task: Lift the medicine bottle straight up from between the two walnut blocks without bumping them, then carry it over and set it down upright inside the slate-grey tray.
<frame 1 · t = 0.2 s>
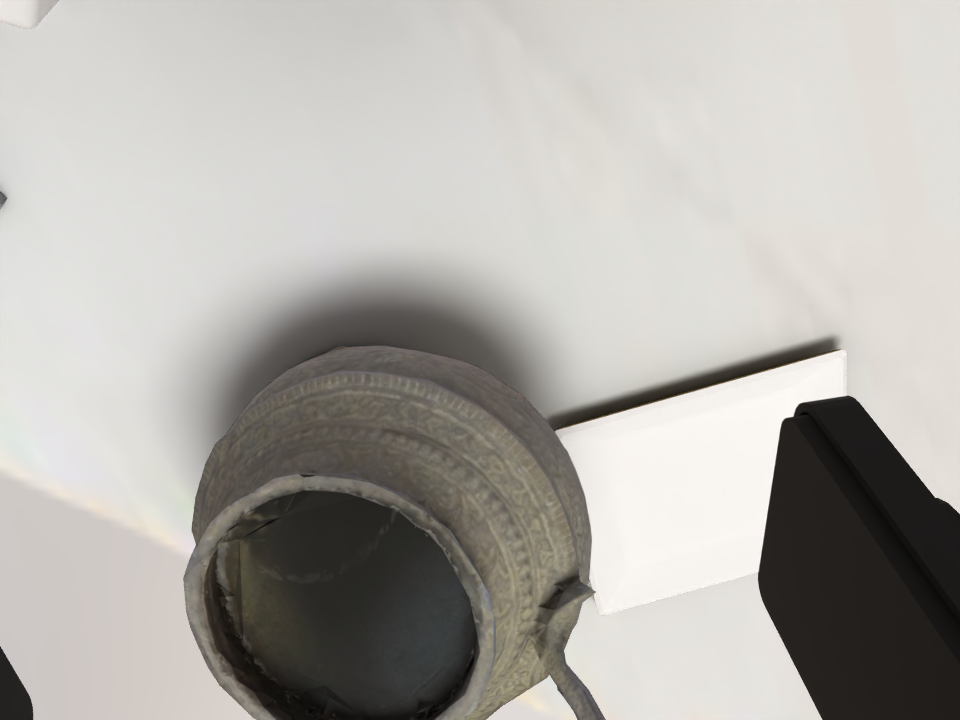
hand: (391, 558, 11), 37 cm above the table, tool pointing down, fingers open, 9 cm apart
pot: (381, 422, 56), on the table
plate: (701, 474, 63), on the table
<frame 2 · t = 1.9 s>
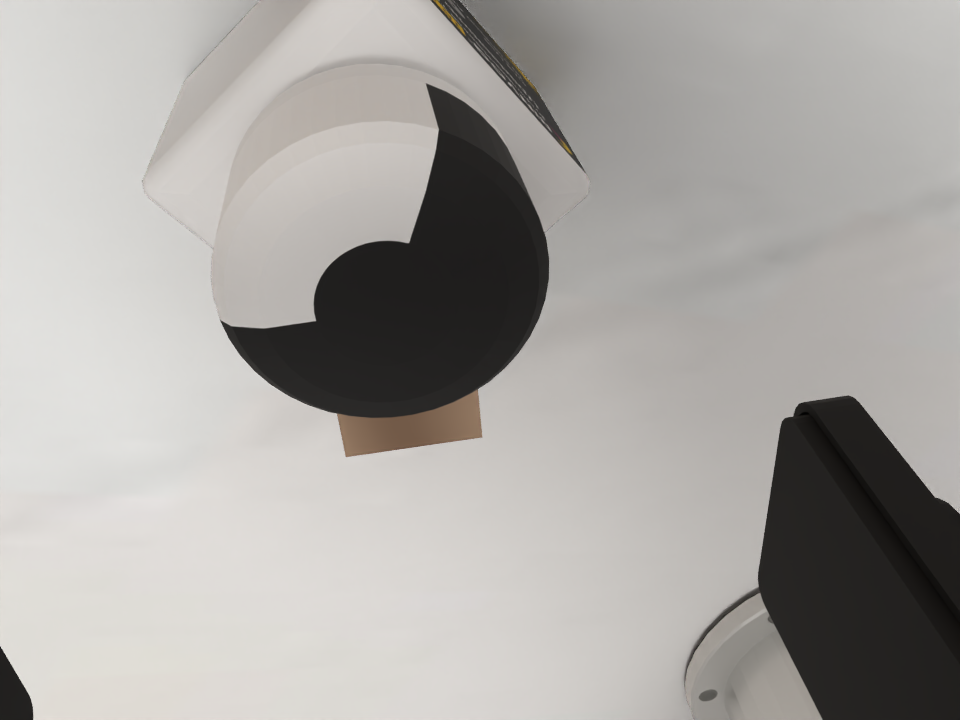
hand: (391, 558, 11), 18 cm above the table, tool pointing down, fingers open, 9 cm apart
medicine bottle: (363, 87, 26), on the table
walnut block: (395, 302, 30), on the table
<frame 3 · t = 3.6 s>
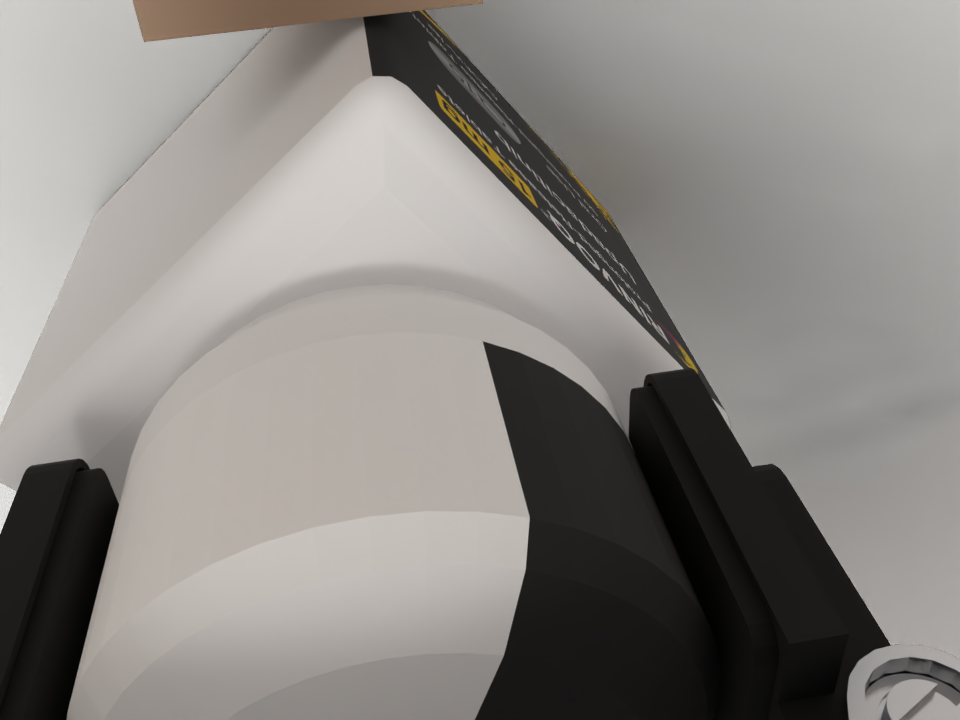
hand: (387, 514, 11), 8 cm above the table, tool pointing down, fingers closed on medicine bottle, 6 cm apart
medicine bottle: (360, 213, 18), on the table, touching gripper
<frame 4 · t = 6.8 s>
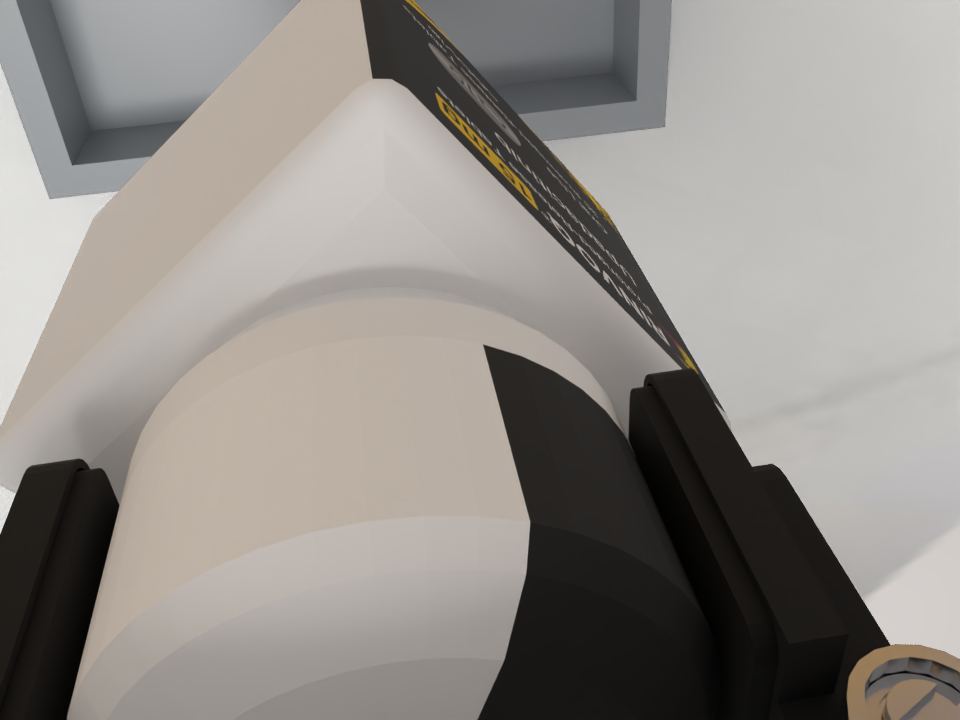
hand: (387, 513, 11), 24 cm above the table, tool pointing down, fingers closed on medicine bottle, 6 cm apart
medicine bottle: (360, 214, 18), point 16 cm above the table, touching gripper
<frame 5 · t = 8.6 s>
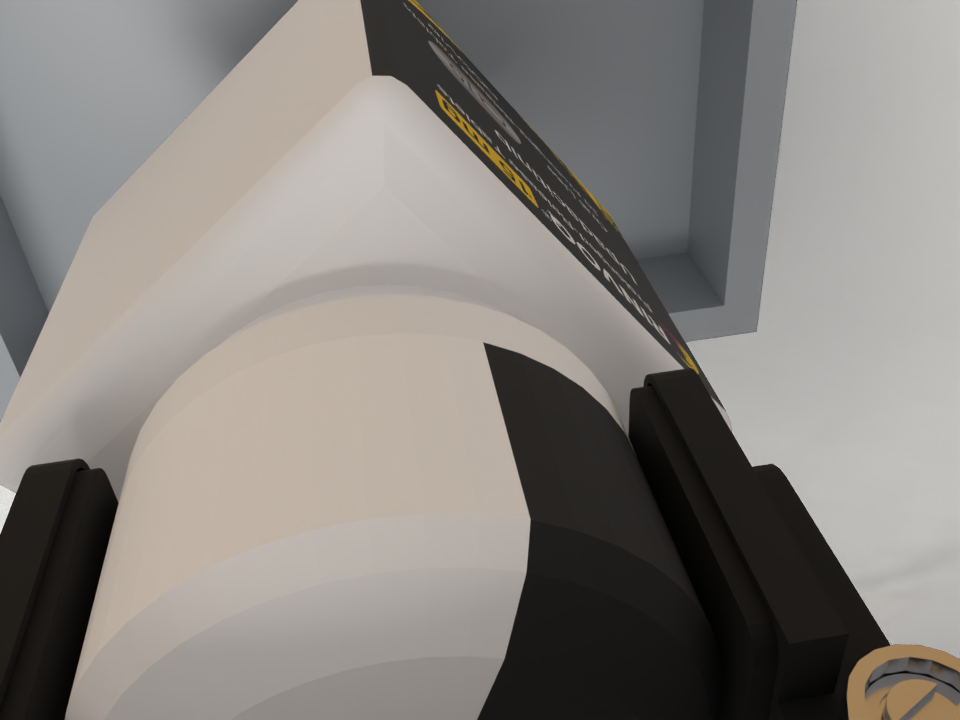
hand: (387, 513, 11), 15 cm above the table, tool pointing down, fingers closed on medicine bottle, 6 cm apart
tray: (351, 96, 24), on the table
medicine bottle: (360, 213, 18), point 7 cm above the table, touching gripper
when the fingers open (10 cm above the table, at t = 10.1 s): medicine bottle stays where it is, resting on tray.
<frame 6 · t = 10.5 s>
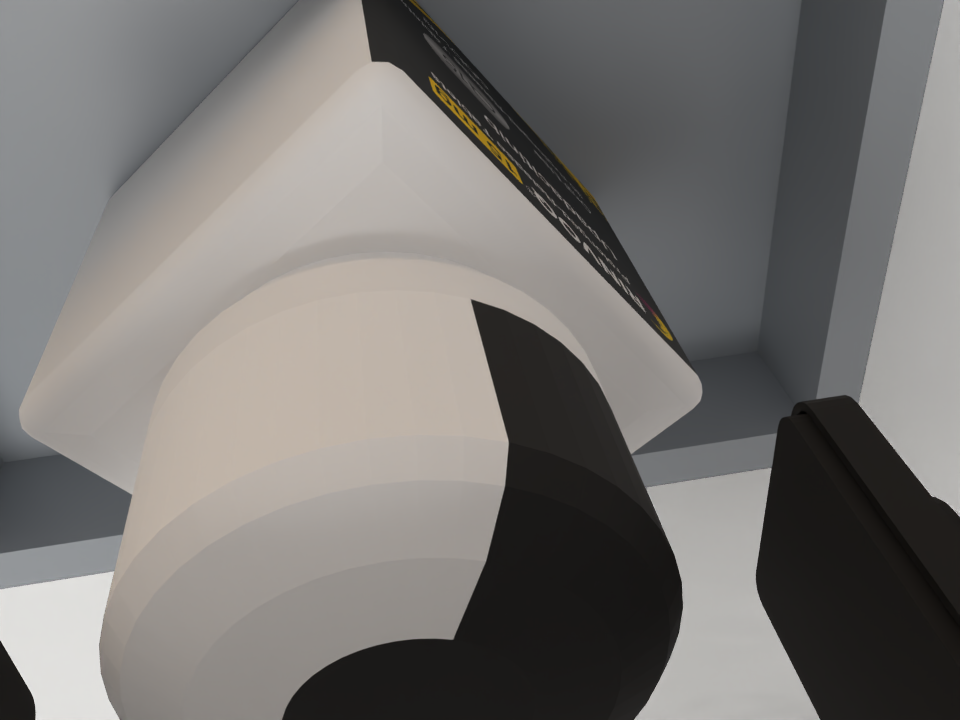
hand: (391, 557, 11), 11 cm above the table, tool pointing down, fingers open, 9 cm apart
tray: (356, 177, 19), on the table
medicine bottle: (360, 197, 19), point 1 cm above the table, touching tray
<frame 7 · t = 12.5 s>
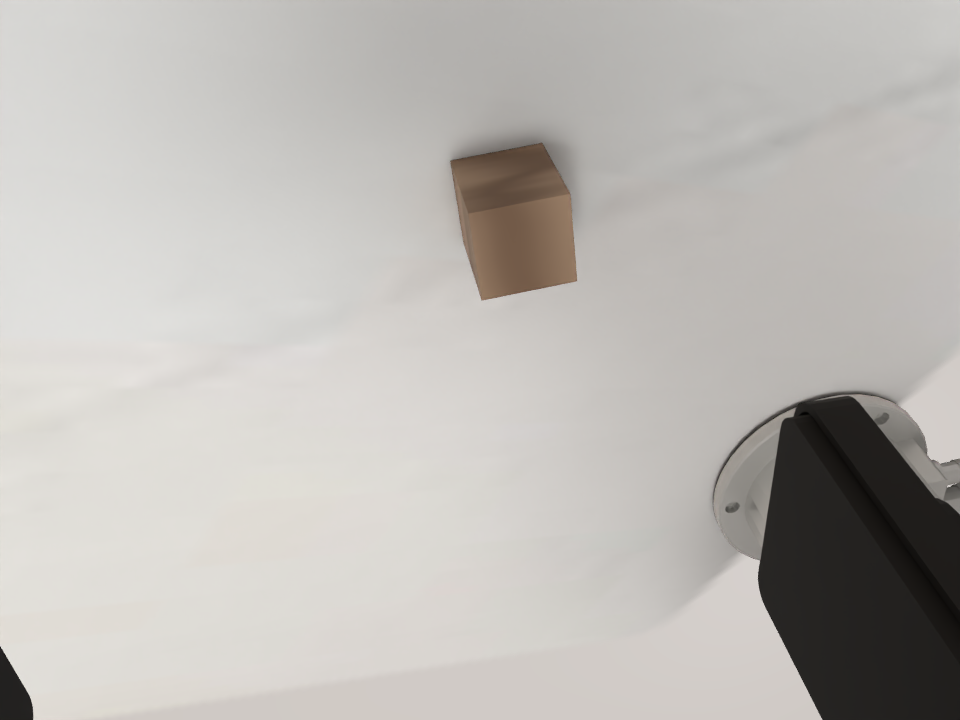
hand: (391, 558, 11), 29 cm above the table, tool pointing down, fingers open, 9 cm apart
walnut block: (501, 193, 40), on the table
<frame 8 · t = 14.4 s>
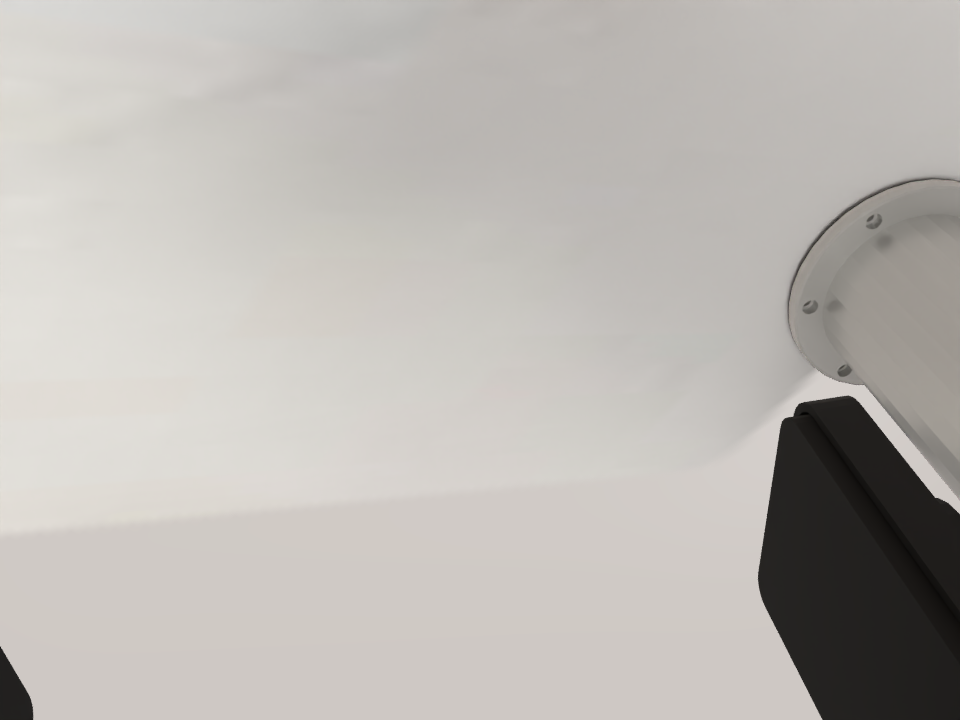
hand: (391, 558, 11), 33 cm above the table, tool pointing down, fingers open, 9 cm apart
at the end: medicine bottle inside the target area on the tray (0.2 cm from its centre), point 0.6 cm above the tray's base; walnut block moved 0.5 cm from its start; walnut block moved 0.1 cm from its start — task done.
